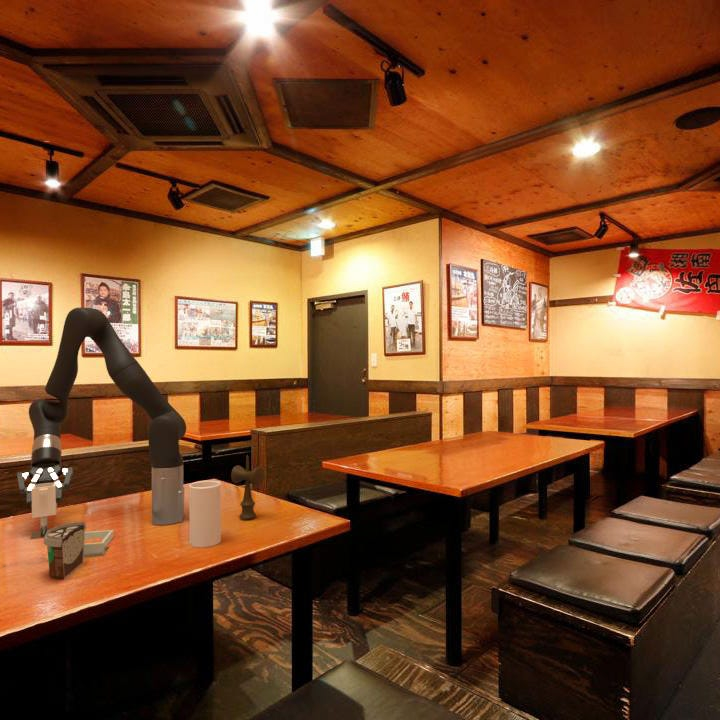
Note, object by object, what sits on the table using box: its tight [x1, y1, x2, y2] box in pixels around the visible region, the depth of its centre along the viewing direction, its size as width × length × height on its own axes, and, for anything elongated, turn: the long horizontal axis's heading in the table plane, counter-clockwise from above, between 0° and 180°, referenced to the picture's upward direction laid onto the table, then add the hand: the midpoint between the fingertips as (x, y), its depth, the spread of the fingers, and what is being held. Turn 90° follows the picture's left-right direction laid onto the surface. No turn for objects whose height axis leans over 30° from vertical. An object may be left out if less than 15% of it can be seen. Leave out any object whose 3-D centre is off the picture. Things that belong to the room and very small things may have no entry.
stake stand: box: [29, 516, 49, 541], centre depth 142 cm, size 8×7×8 cm
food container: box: [43, 521, 87, 580], centre depth 119 cm, size 12×6×10 cm, turn 5°
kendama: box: [230, 454, 265, 521], centre depth 159 cm, size 6×10×20 cm, turn 65°
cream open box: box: [31, 482, 58, 519], centre depth 141 cm, size 6×7×8 cm
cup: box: [189, 480, 222, 548], centre depth 138 cm, size 8×8×16 cm
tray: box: [83, 529, 115, 558], centre depth 133 cm, size 10×10×3 cm
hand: (44, 502), depth 140 cm, fingers closed on cream open box, 5 cm apart
